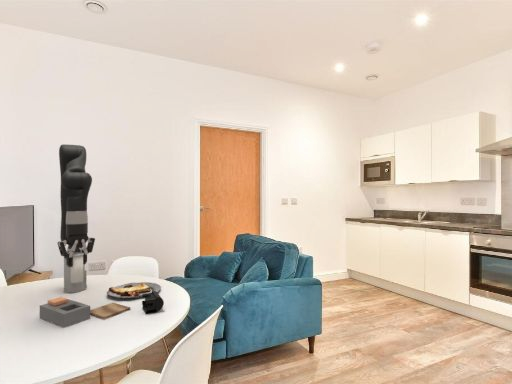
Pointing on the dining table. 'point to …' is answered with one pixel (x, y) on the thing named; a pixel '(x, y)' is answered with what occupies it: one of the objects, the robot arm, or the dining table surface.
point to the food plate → (133, 290)
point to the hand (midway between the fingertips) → (77, 265)
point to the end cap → (152, 302)
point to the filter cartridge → (77, 268)
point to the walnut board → (108, 310)
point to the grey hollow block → (65, 313)
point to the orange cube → (58, 301)
